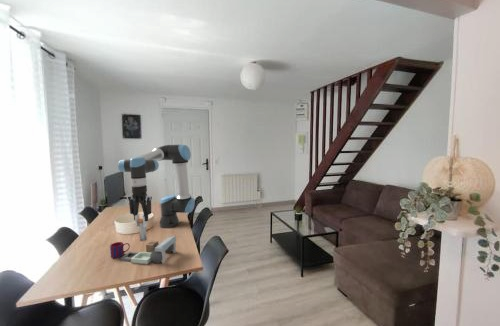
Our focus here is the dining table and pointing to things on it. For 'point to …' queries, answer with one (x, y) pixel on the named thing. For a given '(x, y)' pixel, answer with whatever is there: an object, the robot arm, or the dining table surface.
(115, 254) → the mug
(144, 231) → the stop pin
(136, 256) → the tray
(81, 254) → the dining table surface
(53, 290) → the dining table surface
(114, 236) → the dining table surface
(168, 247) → the grey angle bracket
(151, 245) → the chock
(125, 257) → the pin socket
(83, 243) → the dining table surface
